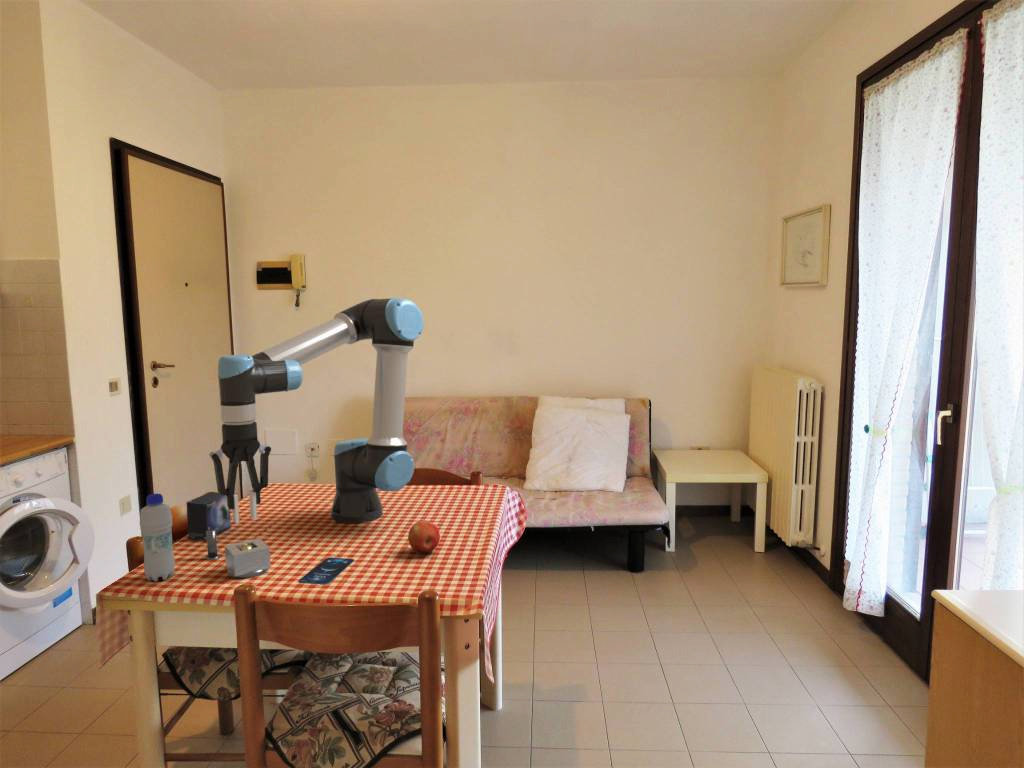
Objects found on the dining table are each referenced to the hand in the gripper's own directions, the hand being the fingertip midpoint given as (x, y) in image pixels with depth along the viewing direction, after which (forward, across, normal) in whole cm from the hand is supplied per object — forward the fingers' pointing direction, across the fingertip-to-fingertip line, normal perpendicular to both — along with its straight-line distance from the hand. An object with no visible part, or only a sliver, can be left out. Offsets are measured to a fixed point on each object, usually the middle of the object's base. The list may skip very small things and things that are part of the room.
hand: (245, 519), depth 154 cm
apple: (+13, -39, +16) cm, 44 cm away
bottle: (+13, +17, -9) cm, 23 cm away
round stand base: (+13, 0, 0) cm, 13 cm away
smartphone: (+13, -15, +12) cm, 23 cm away
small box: (+13, +1, -34) cm, 36 cm away
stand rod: (+13, +5, -14) cm, 20 cm away
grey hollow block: (+12, 0, 0) cm, 12 cm away
